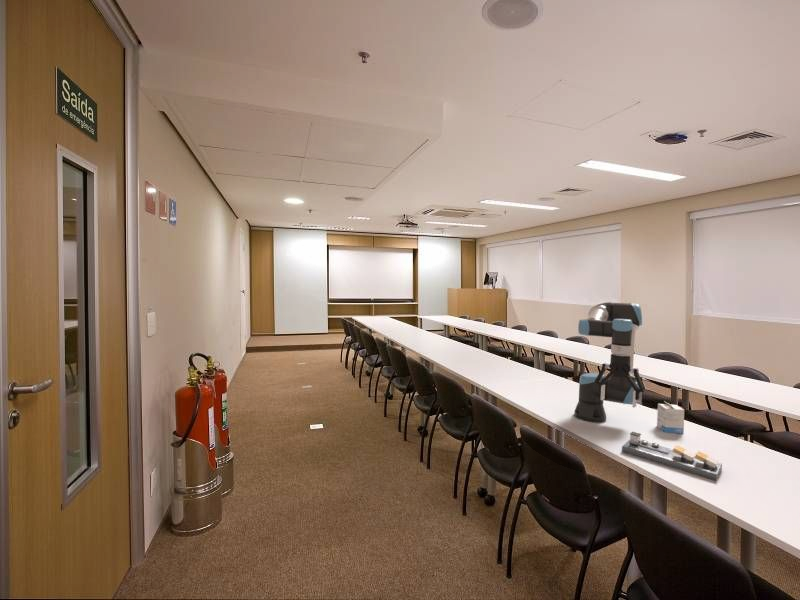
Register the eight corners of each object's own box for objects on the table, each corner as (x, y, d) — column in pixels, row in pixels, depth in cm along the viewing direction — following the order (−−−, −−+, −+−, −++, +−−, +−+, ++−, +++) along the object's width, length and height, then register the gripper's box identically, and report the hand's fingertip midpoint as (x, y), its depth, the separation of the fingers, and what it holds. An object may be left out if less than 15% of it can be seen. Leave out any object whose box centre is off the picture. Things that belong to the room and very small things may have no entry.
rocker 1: (672, 451, 151) (673, 448, 151) (675, 447, 155) (676, 444, 155) (691, 461, 147) (692, 458, 147) (694, 457, 151) (695, 453, 151)
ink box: (683, 434, 183) (685, 406, 182) (664, 432, 184) (666, 405, 184) (674, 427, 191) (676, 401, 190) (656, 425, 193) (657, 399, 192)
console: (621, 451, 161) (622, 443, 161) (631, 443, 170) (631, 435, 170) (716, 481, 139) (717, 471, 139) (721, 469, 148) (722, 460, 148)
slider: (629, 442, 164) (630, 433, 163) (631, 440, 166) (632, 431, 165) (638, 445, 161) (638, 435, 161) (640, 443, 163) (640, 433, 163)
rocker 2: (694, 458, 146) (695, 454, 146) (697, 453, 150) (698, 450, 150) (714, 468, 142) (716, 464, 142) (717, 463, 146) (718, 460, 145)
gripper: (588, 351, 173) (585, 398, 174) (650, 360, 156) (647, 412, 157) (594, 349, 178) (592, 395, 179) (655, 357, 161) (652, 408, 162)
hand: (617, 403), depth 168 cm, fingers open, 12 cm apart
